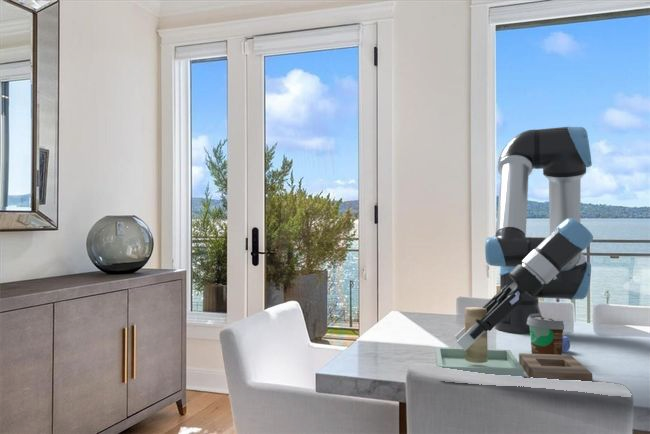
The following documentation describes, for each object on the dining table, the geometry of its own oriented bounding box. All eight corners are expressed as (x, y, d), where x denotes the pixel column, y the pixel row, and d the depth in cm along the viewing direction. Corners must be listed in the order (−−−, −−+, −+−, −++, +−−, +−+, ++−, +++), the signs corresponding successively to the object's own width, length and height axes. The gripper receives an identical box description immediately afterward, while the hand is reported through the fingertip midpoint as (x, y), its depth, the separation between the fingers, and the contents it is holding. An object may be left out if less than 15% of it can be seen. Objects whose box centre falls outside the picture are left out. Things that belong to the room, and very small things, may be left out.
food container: (518, 350, 144) (518, 313, 144) (540, 349, 144) (540, 312, 144) (541, 362, 131) (540, 321, 131) (564, 361, 132) (564, 321, 132)
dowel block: (519, 363, 130) (519, 353, 130) (571, 365, 128) (571, 355, 128) (533, 382, 114) (532, 371, 114) (592, 385, 112) (592, 373, 112)
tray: (435, 359, 135) (435, 347, 135) (509, 362, 131) (509, 349, 131) (438, 379, 117) (438, 366, 117) (524, 383, 114) (524, 369, 114)
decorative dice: (548, 350, 143) (548, 336, 143) (556, 348, 145) (556, 334, 146) (562, 353, 140) (562, 338, 140) (570, 351, 142) (570, 336, 142)
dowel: (464, 357, 127) (463, 307, 127) (486, 357, 126) (485, 307, 126) (466, 362, 122) (465, 310, 122) (488, 363, 121) (488, 310, 121)
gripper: (554, 290, 113) (475, 365, 116) (536, 281, 131) (467, 346, 133) (528, 265, 114) (450, 340, 117) (513, 260, 132) (446, 324, 134)
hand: (459, 343), depth 125 cm, fingers closed on dowel, 5 cm apart
